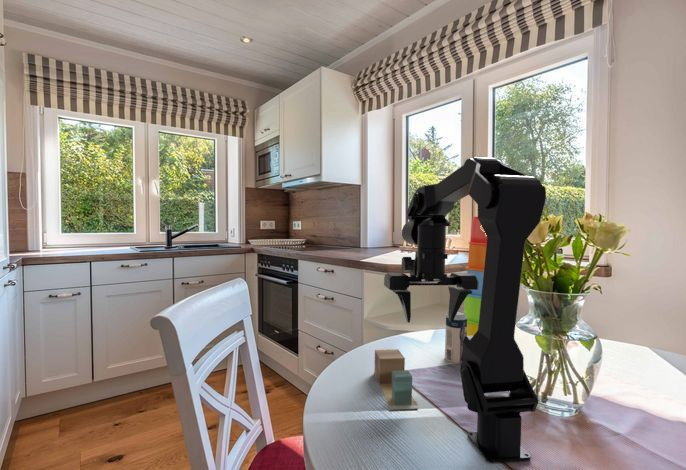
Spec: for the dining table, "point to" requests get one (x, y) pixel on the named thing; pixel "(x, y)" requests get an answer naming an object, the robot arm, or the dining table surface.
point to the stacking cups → (475, 268)
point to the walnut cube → (388, 364)
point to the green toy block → (399, 391)
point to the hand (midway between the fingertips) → (429, 321)
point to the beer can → (455, 337)
